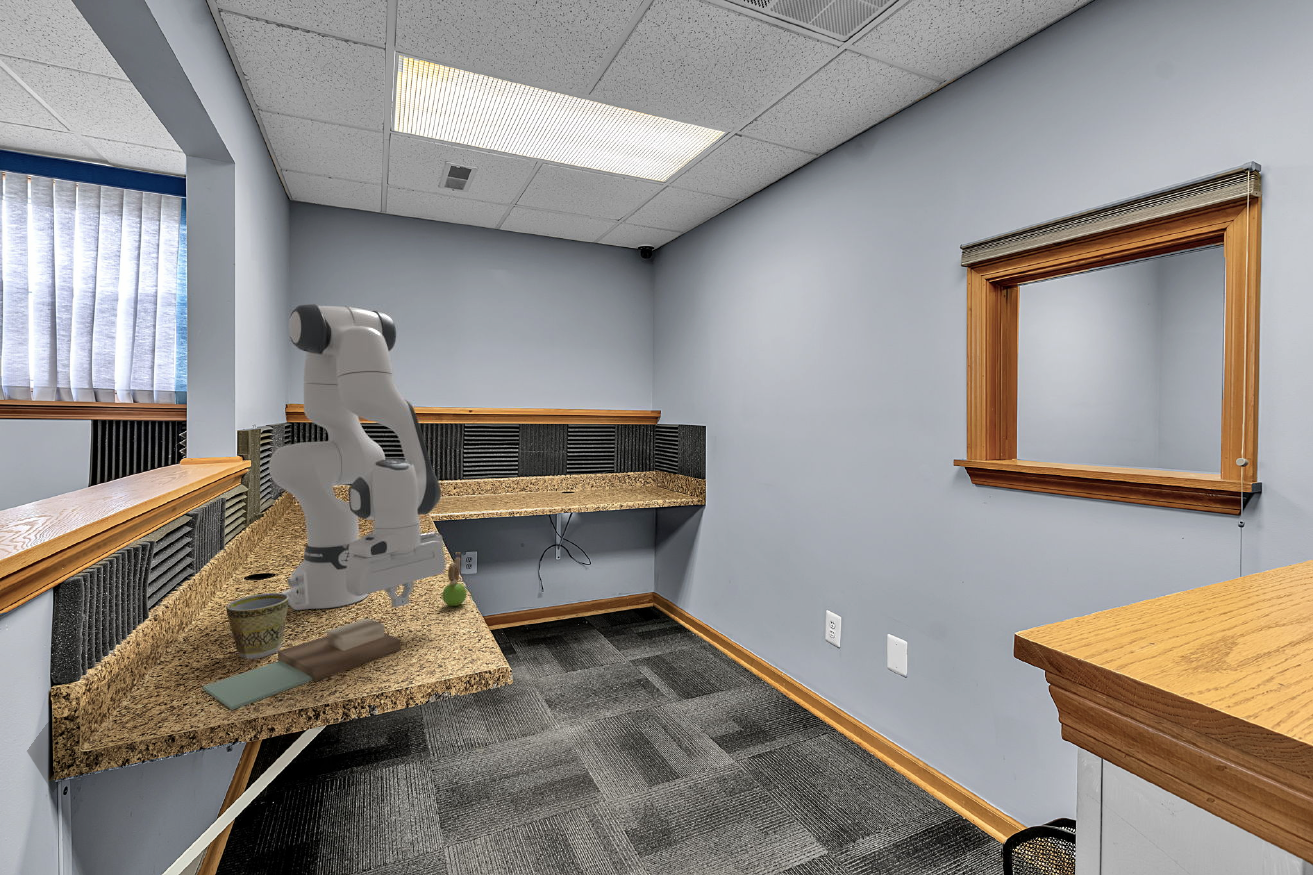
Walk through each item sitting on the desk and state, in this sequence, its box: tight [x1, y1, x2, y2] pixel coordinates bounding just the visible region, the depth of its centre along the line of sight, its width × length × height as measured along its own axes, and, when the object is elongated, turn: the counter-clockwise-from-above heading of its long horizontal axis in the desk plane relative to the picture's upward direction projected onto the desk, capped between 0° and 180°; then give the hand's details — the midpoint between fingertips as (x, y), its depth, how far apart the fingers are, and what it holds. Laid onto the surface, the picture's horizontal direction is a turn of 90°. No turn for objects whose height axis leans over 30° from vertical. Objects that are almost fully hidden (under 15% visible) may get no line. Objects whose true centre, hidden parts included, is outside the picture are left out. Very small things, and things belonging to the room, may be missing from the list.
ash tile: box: [326, 617, 385, 651], centre depth 114 cm, size 6×8×2 cm
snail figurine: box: [441, 551, 467, 607], centre depth 140 cm, size 5×6×12 cm
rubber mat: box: [202, 660, 313, 711], centre depth 100 cm, size 12×12×1 cm
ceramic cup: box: [225, 592, 289, 660], centre depth 115 cm, size 13×10×10 cm
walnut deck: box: [277, 632, 402, 682], centre depth 112 cm, size 14×16×2 cm
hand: (400, 605), depth 121 cm, fingers closed
